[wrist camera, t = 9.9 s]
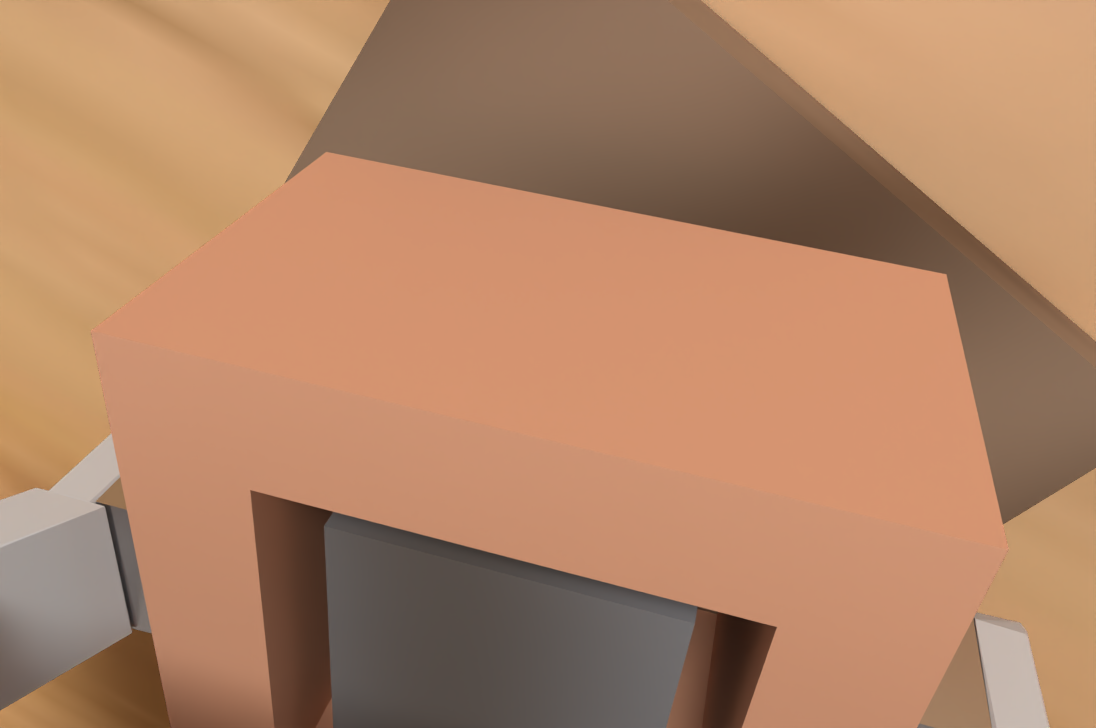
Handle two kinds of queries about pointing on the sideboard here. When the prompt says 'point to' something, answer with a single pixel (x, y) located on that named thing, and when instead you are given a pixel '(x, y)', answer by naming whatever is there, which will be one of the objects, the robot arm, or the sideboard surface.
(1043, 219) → the sideboard surface
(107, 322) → the pink square socket block
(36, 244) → the sideboard surface
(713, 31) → the base
